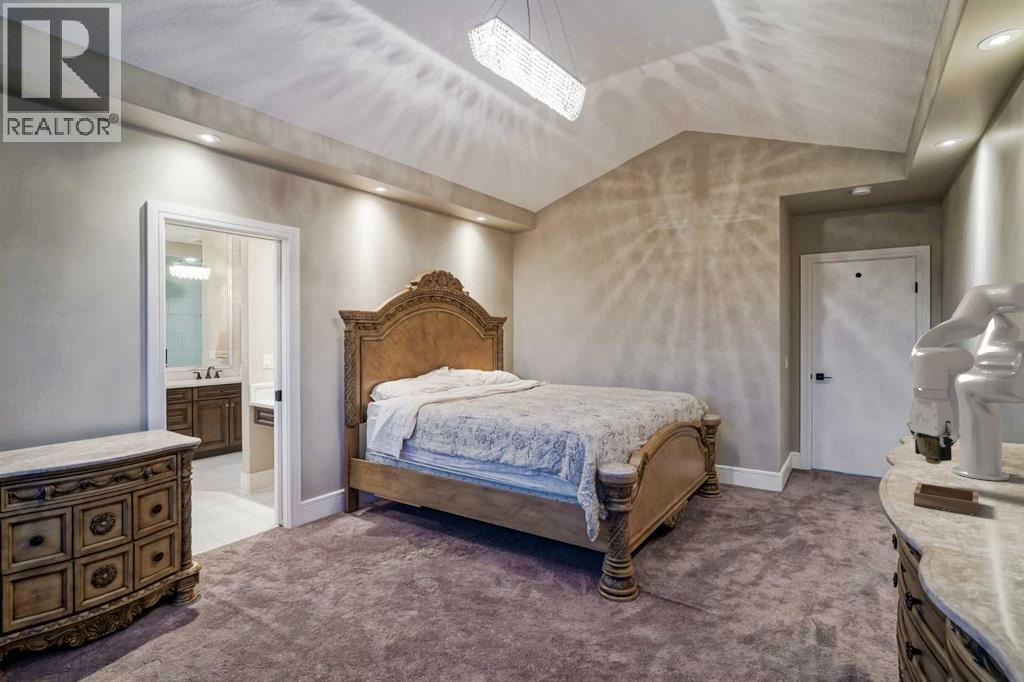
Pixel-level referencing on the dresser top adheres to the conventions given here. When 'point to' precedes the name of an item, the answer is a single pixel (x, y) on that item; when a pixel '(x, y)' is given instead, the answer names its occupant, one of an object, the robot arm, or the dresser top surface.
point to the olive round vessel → (929, 448)
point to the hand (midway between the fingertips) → (933, 456)
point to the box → (946, 498)
